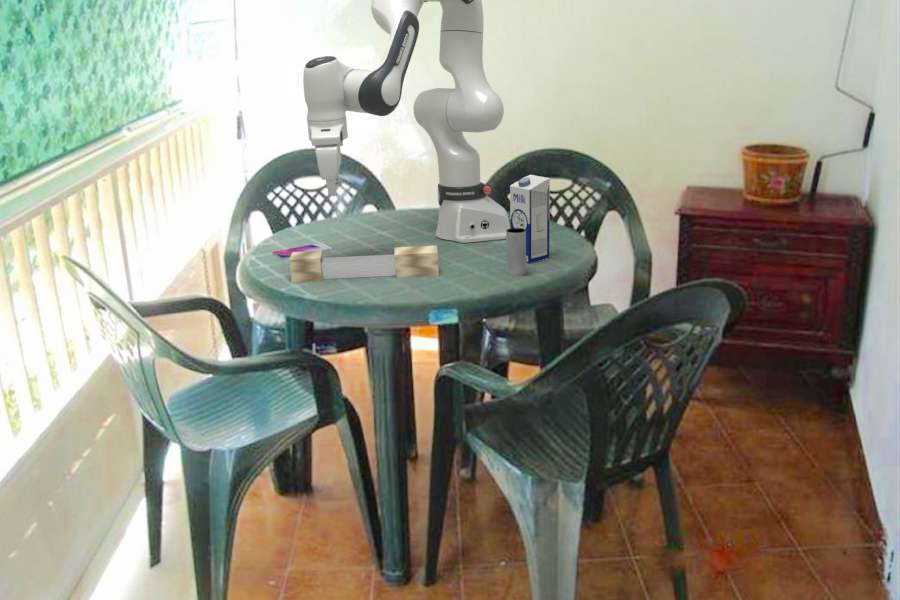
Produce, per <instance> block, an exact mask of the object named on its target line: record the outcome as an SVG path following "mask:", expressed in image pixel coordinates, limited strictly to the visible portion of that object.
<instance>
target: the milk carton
mask: <svg viewBox="0 0 900 600" xmlns="http://www.w3.org/2000/svg"><path fill="white" fill-rule="evenodd" d="M550 183H551V178H550V177H546V176H539V175H535V174H529V175H527V176H524V177H522V178H520V179H519V180H517V181H515V182H514V183H512V184H511V185H509V205H510V206H509V210H510V211H509V212H510V213H509V223H510V228H523V229H525V230H526V264H532V262H533V263H536V262H535V261H537V262H539V260H540V261H544V260H547V259H546V258H548V259H550V210H551V209H550V200H551V199H550V196H551V195H550V192H551V191H550V190H551V188H550V185H551V184H550ZM543 259H544V260H543Z"/></svg>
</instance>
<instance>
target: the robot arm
mask: <svg viewBox="0 0 900 600" xmlns="http://www.w3.org/2000/svg"><path fill="white" fill-rule="evenodd" d="M428 2H436V3H437V2H438V3H439V4H440V6H441V9H442V14H441V19H440V20H441V21H440V22H441V23H440V35H439V53H438V54H439V57H438V59H439V63H440V65H441V67H442V68H443V69H444V70H445V71H446V72H448V73H449V74H451V76H452V78H453V81H454V86H455V87H454V88H451V87H450V88H447V87H446V88H444V87H436V88H432V89H426V90H423V91H421V92H420V93H419V94H417V96H416V98H415V100H414V103H413V109H412V110H413V116H414V119H415V121H416V122H417V124H418V125H419V126H420V127H421V128H422V129H423V130H424V131H425V132H426V133H427V134H428V137H429V138H430V140H431V141H432V143H433V147H434V148H435V152H436V153H435V154H436V157H437V164H438V165H437V166H438V178H439V180H438V181H439V182H438V184H437V202H438V206H439V208H438V219H437V224H436V225H437V226H436V231H435V234H434V235H435V237H437V238H439V239H442V240H445V241H446V240H447V241H453V242H457V243H462V244H464V243H465V244H467V243H475V242H484V241H485V242H486V241H496V240H506V230H507V229H510V216H509V214H508V213H507V210H506V209H505V208H504V206H502V205H500V203H498V202H496V201H495V200H494V199H493V198H491V197H489V195H490V194H491V193H492V190H491V187H490V186H489V185H487V184H486V183H485V182H482V181H481V159H480V158H481V157H480V154H479V152H478V150H476V148H474V147H473V146H472V145H470V143H468V142H467V140H466V138H465V137H464V133H477V134H478V133H485V132H488V131H493V130H496V129H497V128H498V127H499V126H500V125H501V123H502V120H503V119H504V113H505V109H504V103H503V100H502V98H501V97H500V95H499V94H498V93H497V92H495V90H494V89H493V88H492V87H491V85H490V83H489V81H488V80H487V78H486V74H485V70H484V63H483V60H484V59H483V53H484V52H483V49H484V48H483V45H484V11H483V10H484V9H483V8H484V7H483V2H482V0H372V2H371V6H370V9H371V14H372V17H373V19H374V21H375V23H376V24H377V26H379V28H381V30H383V31H384V32H385V33H386V34H388V35H389V40H388V43H387V46H386V49H385V52H384V54H383V57H382V61H381V63H380V64H379V65H378V66H377V67H375V68H373V69H359V68H354V67H351V66H348V65H346V64H344V63H343V62H341V61H340V60H339V59H338V57H336V56H330V55H327V56H326V55H324V56H320V57H315V58H312V59H311V60H309V61H308V62H307V63H305V65H304V69H303V77H302V78H303V80H302V81H303V82H302V83H303V93H304V94H303V95H304V101H305V104H306V107H307V116H306V122H307V130H308V131H307V133H308V140H309V141H310V142H311V146H312V147H314V150H315V151H314V153H315V157H316V162H317V168H318V171H319V175H320V178H321V180H322V181H325V184H326V188H327V193H328V196H329V197H336V196H337V188H338V187H339V185H340V184H339V172H340V168H341V164H342V153H341V147H342V146H343V145H344V142H343V141H344V140H346V139H348V137H349V135H348V125H347V115H346V112H354V113H363V114H370V115H373V116H378V117H386V116H388V115H390V114H392V113H393V112H394V111H395V110H396V109H397V107H398V106H399V104H400V102H401V98H402V92H403V86H404V85H403V84H404V80H405V77H406V74H407V70H408V67H409V66H410V62H411V59H412V56H413V53H414V50H415V47H416V45H417V44H416V43H417V41H418V36H419V32H420V22H419V19H418V16H419V13H420V11H421V9H422V6H423V5H424V3H428Z"/></svg>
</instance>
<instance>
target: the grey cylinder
mask: <svg viewBox="0 0 900 600" xmlns="http://www.w3.org/2000/svg"><path fill="white" fill-rule="evenodd" d="M505 244H506V245H505V247H506V249H505V250H506V252H505V253H506V254H505V255H506V257H505V258H506V264H505V265H506V274H507V275H510V276H524V275H526V273H527V263H526V230H525V229H523V228H510V229H507V230H506V239H505Z"/></svg>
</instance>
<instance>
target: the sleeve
mask: <svg viewBox="0 0 900 600" xmlns="http://www.w3.org/2000/svg"><path fill="white" fill-rule="evenodd" d="M438 251H439V250H438V245H421V246H418V245H417V246H399V247H394V254H393V255H395V273H396V276H395V278H408V277H409V278H410V277H414V278H415V277H430V276H431V277H432V276H434V277H435V276H439V275H440V273H439V269H440V268H439V252H438Z"/></svg>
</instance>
